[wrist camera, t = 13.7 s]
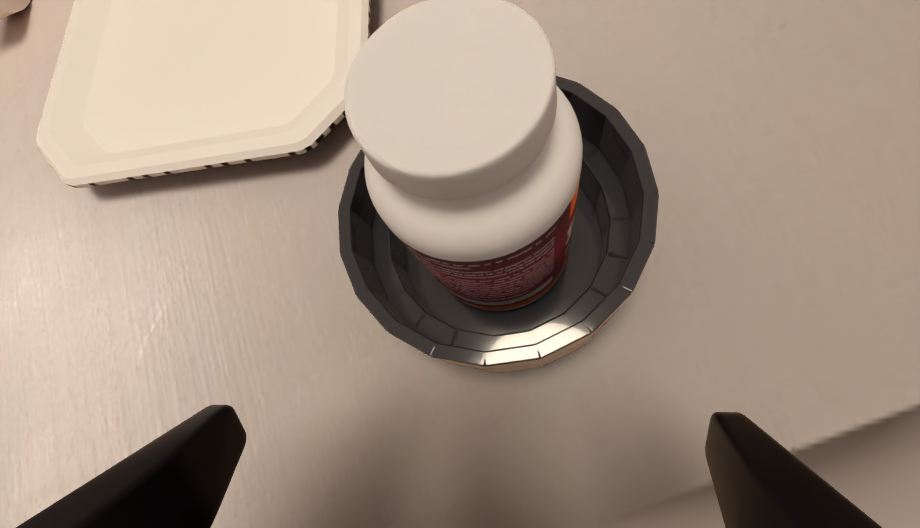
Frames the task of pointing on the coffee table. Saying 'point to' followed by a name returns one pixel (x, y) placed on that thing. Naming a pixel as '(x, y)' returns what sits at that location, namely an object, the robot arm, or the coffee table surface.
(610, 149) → the dish
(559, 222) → the pill bottle
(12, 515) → the coffee table surface
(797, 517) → the robot arm
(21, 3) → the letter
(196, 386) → the coffee table surface
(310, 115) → the plate
